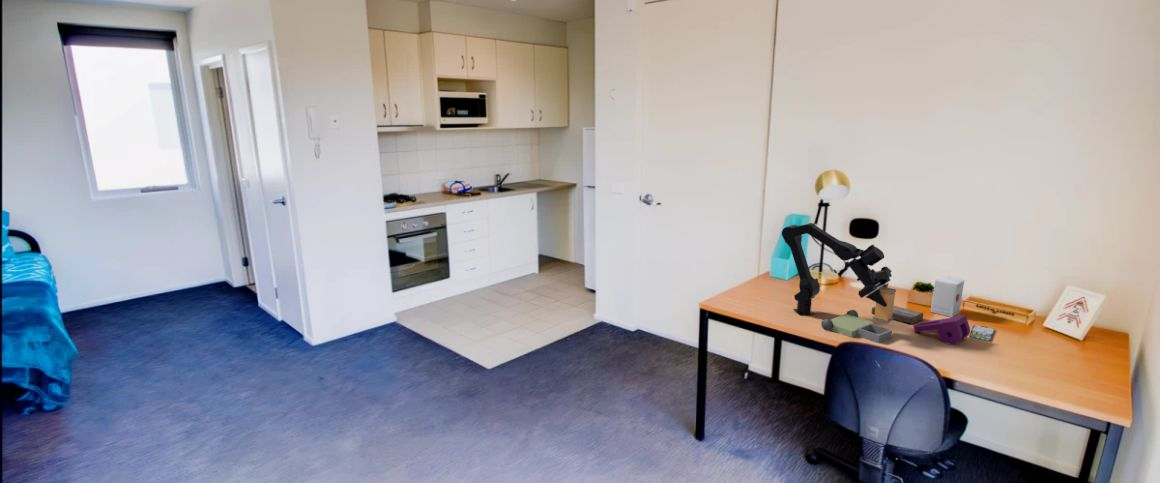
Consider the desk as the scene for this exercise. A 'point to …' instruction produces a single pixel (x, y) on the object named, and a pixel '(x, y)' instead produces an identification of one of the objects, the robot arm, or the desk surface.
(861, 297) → the robot arm
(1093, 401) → the desk surface
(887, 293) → the tan rectangular column
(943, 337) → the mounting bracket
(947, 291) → the supplement box
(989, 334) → the mottled grey green block
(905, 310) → the box
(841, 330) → the green slab with frame
